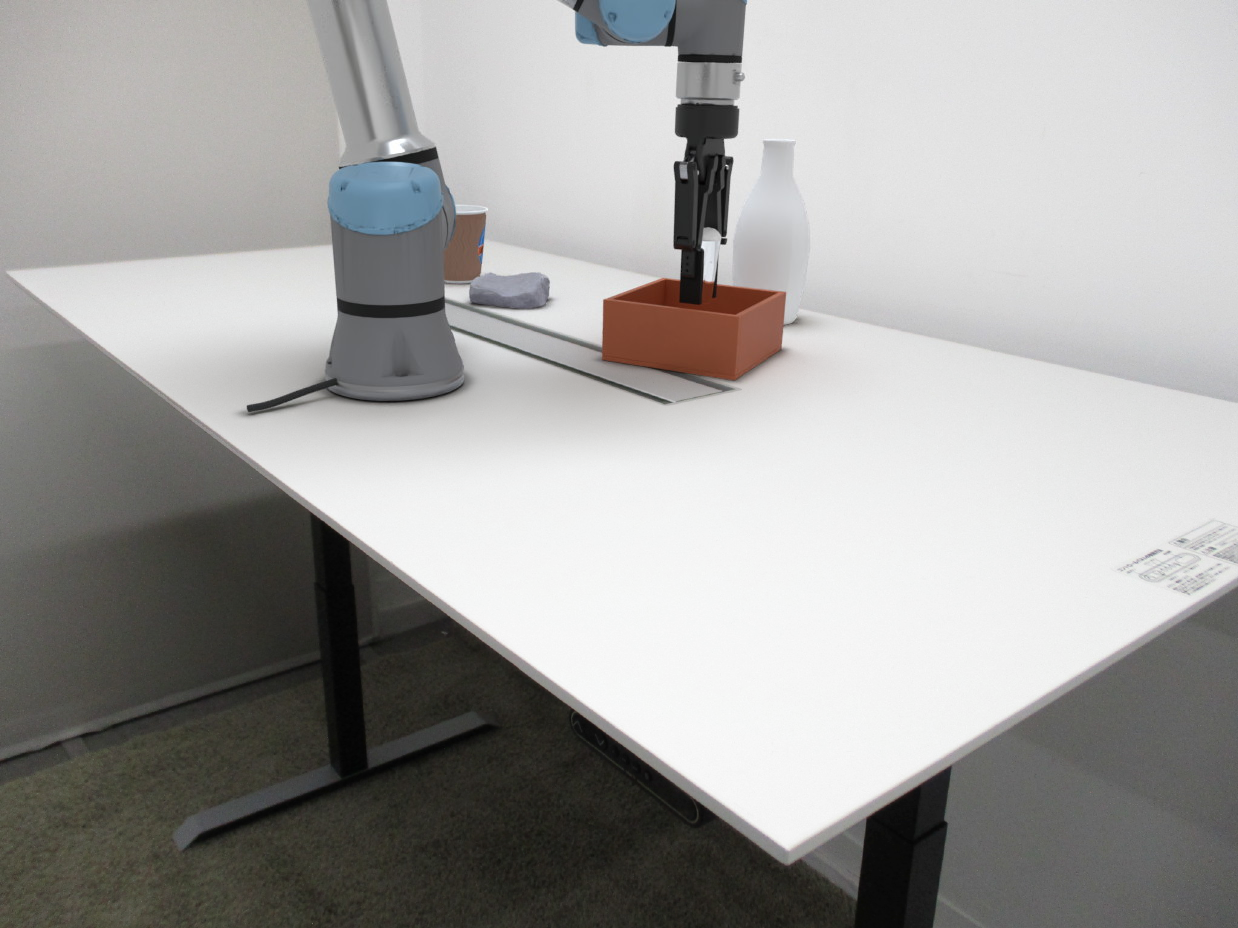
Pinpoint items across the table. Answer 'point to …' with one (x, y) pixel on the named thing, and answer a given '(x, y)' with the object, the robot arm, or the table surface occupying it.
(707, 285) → the milkshake
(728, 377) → the bin
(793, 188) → the bottle
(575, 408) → the table surface
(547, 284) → the stone block
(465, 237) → the coffee cup
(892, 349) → the table surface
